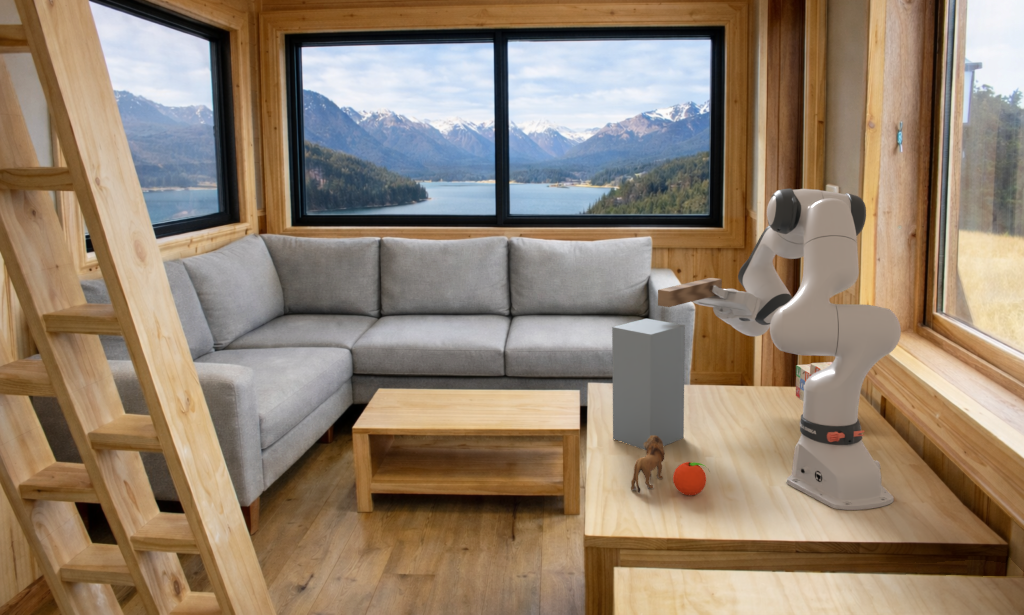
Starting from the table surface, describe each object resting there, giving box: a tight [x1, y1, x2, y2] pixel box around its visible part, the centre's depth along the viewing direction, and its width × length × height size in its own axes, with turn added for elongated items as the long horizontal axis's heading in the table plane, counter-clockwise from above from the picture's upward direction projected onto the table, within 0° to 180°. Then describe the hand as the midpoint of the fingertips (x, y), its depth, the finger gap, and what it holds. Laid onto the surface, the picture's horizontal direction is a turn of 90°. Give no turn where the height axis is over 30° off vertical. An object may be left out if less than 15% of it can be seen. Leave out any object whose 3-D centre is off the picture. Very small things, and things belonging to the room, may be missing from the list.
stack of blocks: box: [795, 361, 833, 402], centre depth 232 cm, size 21×6×12 cm, turn 5°
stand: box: [611, 318, 686, 451], centre depth 210 cm, size 13×12×29 cm
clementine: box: [672, 461, 711, 496], centre depth 179 cm, size 8×7×7 cm
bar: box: [657, 277, 723, 308], centre depth 217 cm, size 22×4×4 cm, turn 131°
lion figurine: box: [630, 435, 665, 494], centre depth 185 cm, size 15×5×9 cm, turn 157°
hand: (704, 287), depth 220 cm, fingers closed on bar, 3 cm apart
